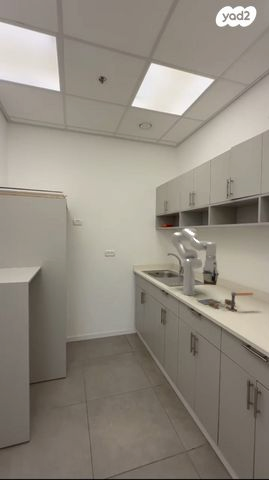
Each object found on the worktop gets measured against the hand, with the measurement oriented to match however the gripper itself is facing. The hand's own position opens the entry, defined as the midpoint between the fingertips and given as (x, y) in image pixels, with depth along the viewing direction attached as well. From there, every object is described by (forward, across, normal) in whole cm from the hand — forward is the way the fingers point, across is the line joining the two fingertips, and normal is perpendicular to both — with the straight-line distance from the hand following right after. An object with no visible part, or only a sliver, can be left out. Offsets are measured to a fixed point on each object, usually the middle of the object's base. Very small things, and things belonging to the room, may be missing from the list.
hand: (209, 279), depth 180 cm
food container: (+4, +1, 0) cm, 4 cm away
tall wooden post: (+7, -22, -11) cm, 25 cm away
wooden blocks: (+18, -14, -4) cm, 23 cm away
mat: (+18, 0, 0) cm, 18 cm away
